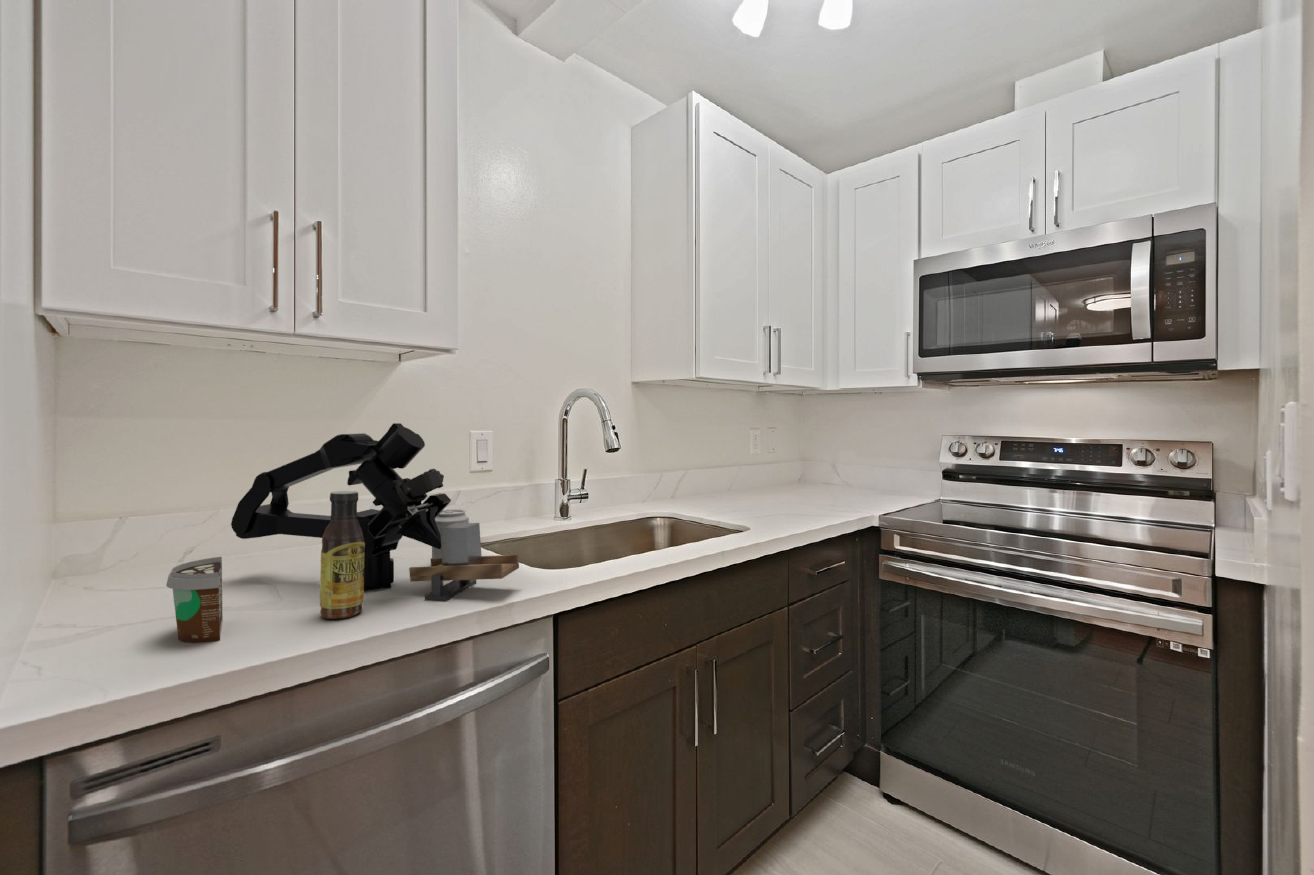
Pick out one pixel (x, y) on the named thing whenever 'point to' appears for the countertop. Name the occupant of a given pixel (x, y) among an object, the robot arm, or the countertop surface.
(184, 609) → the food container
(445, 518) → the can
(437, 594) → the stand
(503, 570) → the beam
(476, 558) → the steel block
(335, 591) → the sauce bottle
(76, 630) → the countertop surface
